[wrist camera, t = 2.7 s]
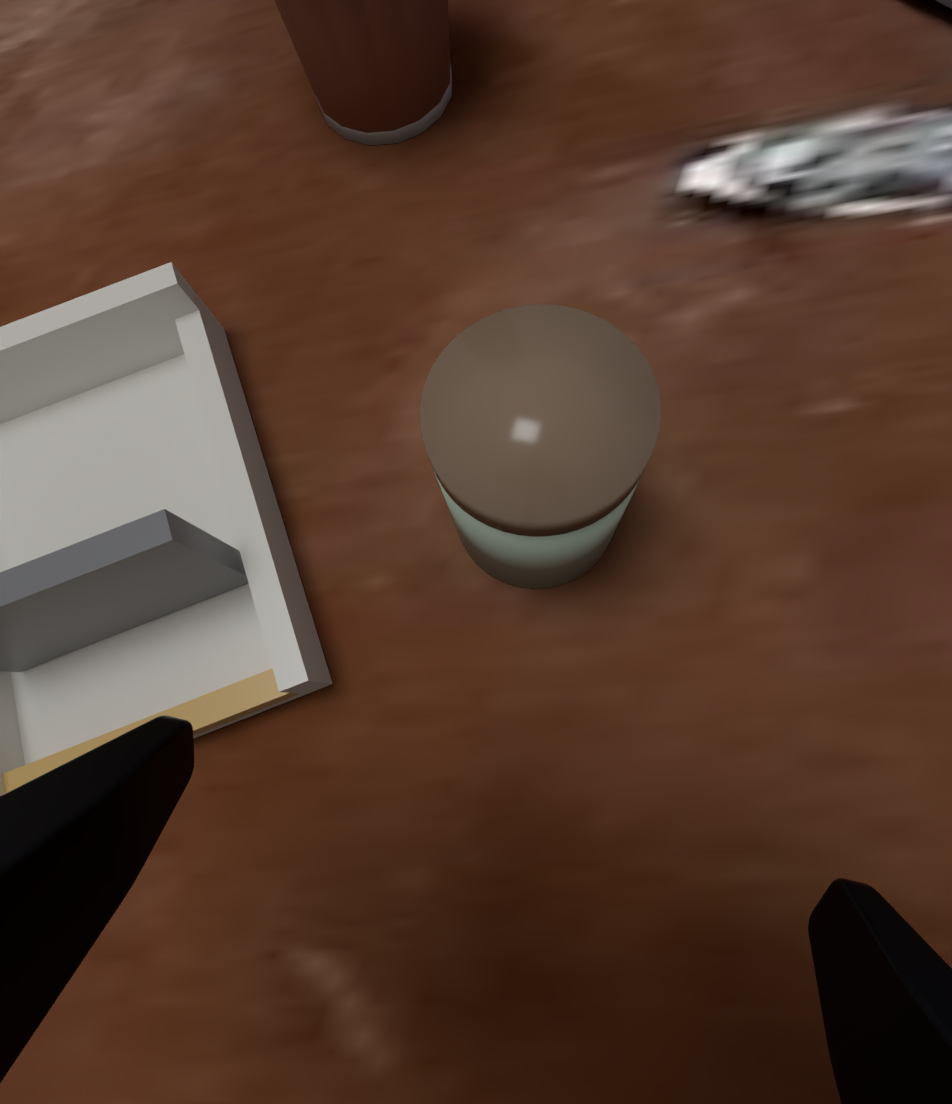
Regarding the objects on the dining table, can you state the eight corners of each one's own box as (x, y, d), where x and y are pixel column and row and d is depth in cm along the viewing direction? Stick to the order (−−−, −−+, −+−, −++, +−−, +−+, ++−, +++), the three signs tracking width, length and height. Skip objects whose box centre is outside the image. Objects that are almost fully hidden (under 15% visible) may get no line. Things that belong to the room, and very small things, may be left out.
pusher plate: (255, 580, 22) (172, 539, 17) (19, 672, 22) (-137, 659, 17) (248, 556, 23) (164, 509, 17) (14, 646, 22) (-140, 626, 17)
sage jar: (545, 622, 22) (555, 572, 14) (423, 520, 23) (371, 425, 15) (648, 500, 23) (711, 390, 15) (525, 408, 24) (523, 265, 16)
